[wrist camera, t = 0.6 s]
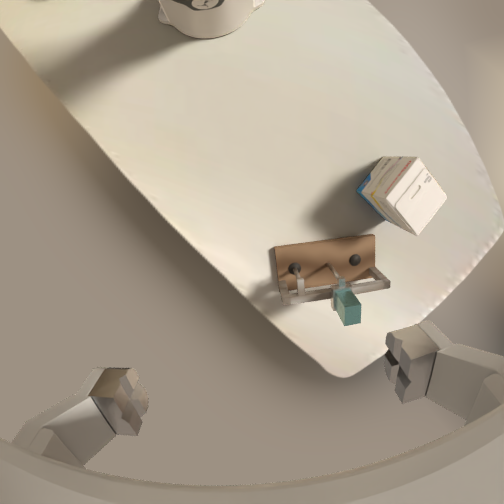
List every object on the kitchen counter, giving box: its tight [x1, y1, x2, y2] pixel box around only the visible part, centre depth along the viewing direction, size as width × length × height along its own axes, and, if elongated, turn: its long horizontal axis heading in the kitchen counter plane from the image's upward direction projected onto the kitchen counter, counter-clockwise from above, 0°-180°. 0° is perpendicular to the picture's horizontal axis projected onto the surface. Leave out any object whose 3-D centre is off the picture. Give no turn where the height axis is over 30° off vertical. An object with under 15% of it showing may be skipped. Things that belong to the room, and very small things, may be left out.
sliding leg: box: [327, 263, 361, 326], centre depth 43 cm, size 5×3×13 cm, turn 8°
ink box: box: [356, 157, 447, 236], centre depth 41 cm, size 9×8×12 cm
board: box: [274, 234, 390, 305], centre depth 47 cm, size 8×18×8 cm, turn 98°
